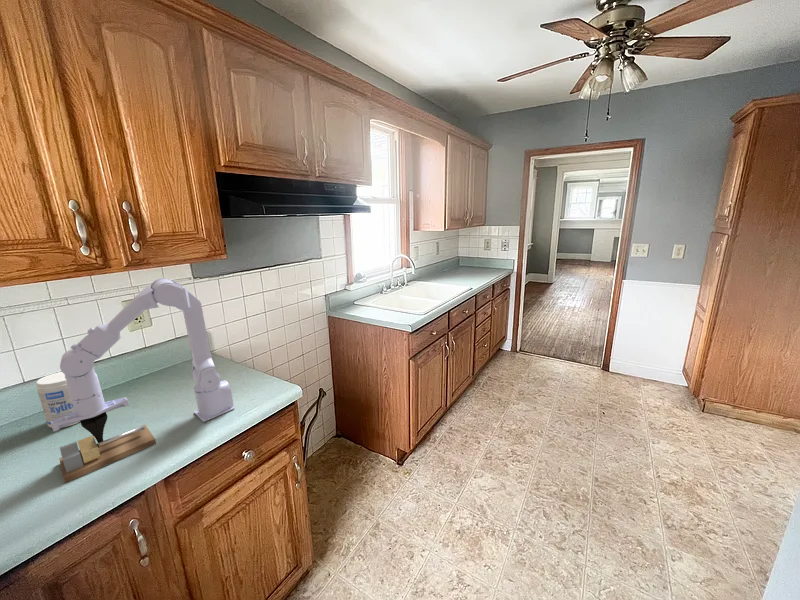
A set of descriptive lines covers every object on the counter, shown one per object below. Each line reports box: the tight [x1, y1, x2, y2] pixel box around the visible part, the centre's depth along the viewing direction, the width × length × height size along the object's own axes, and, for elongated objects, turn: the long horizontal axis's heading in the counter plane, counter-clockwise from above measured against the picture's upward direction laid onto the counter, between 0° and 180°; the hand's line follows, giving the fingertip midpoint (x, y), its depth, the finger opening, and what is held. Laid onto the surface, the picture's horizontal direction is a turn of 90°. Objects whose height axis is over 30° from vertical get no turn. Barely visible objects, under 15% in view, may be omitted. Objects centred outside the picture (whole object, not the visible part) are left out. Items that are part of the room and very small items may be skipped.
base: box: [58, 424, 157, 484], centre depth 87 cm, size 18×10×5 cm, turn 139°
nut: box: [77, 434, 100, 464], centre depth 84 cm, size 3×7×3 cm, turn 49°
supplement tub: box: [35, 371, 80, 429], centre depth 100 cm, size 10×10×15 cm
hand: (99, 440), depth 87 cm, fingers closed
